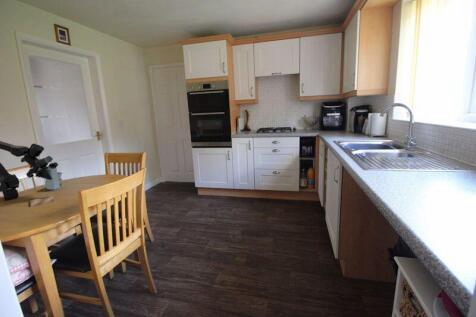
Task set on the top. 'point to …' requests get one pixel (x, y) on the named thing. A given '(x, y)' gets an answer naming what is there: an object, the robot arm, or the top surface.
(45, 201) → the walnut pad
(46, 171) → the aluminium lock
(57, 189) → the mortar and pestle
